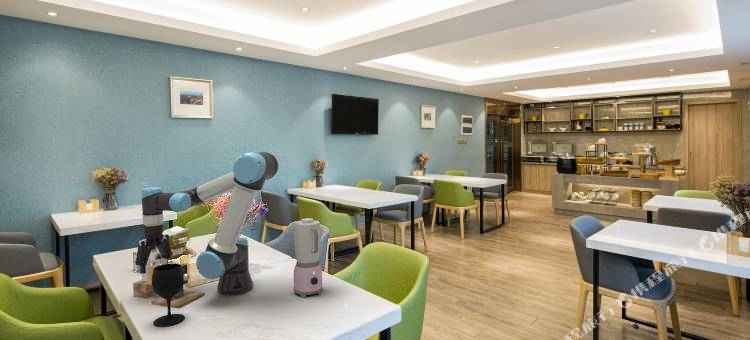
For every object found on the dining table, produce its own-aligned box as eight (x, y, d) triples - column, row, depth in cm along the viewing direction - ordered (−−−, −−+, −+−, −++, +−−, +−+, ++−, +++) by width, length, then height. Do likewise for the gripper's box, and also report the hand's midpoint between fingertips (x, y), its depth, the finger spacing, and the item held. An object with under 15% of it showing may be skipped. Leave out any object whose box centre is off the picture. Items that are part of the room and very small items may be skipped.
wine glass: (177, 312, 152) (175, 261, 151) (190, 319, 145) (188, 266, 144) (148, 321, 144) (146, 267, 143) (160, 329, 137) (158, 273, 136)
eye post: (188, 294, 168) (187, 264, 167) (173, 301, 160) (172, 269, 159) (183, 293, 169) (182, 263, 168) (168, 300, 161) (167, 269, 160)
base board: (204, 295, 169) (204, 292, 169) (179, 308, 156) (179, 305, 156) (178, 292, 173) (178, 289, 173) (151, 304, 160) (151, 301, 160)
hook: (192, 285, 165) (192, 268, 164) (184, 288, 160) (184, 271, 160) (156, 280, 170) (155, 264, 170) (147, 284, 166) (146, 267, 166)
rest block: (156, 293, 171) (155, 280, 171) (146, 298, 166) (145, 284, 166) (143, 292, 173) (143, 279, 173) (133, 296, 168) (132, 283, 168)
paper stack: (203, 256, 230) (202, 227, 229) (157, 266, 212) (156, 235, 211) (185, 249, 247) (184, 222, 246) (140, 257, 228) (139, 228, 227)
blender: (289, 290, 174) (288, 218, 172) (314, 285, 181) (313, 215, 179) (303, 302, 161) (302, 224, 159) (330, 296, 168) (329, 221, 166)
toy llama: (145, 267, 210) (143, 229, 208) (166, 271, 202) (165, 233, 200) (130, 271, 203) (129, 232, 202) (152, 276, 195) (150, 236, 194)
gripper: (166, 219, 178) (168, 268, 179) (122, 229, 157) (125, 284, 158) (180, 220, 175) (182, 270, 177) (137, 230, 155) (139, 286, 156)
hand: (155, 277), depth 167 cm, fingers open, 9 cm apart
